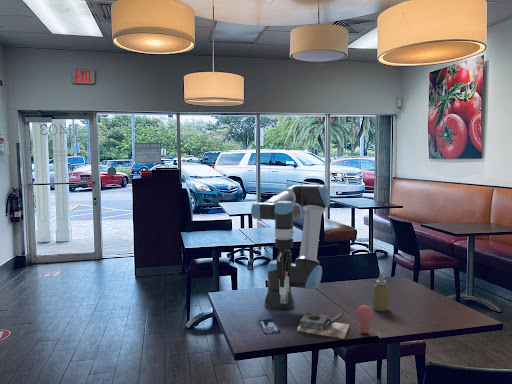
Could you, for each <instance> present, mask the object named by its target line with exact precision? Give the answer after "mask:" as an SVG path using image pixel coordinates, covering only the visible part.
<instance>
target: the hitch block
mask: <svg viewBox="0 0 512 384" xmlns="http://www.w3.org/2000/svg"><path fill="white" fill-rule="evenodd" d="M331 319H332V318H331V317H329V315H327V314H326V315H325V314H321V313H319V314H318V313H312V312H306V313H305V314H304V315H303V316H302V318H301V319H300V321H299V325H298V326H297V328H296V330H297V331H296V332H299V331H300V332H301V333H305V332H306V333H305V334H311V333H312V334H311V335H313V334H314V335H320V336H324V335H325V336H326V337H330V336H331V338H336V337H337V338H336V339H342V340H343V339H345V338H346V335H347V333H348V331H350V330H349V329H350V324H348V323H341V322H337V321H336V322H334V323H333V324H331V325H330V326H329V327H328V324H327V322H328V321H329V320H331Z"/></svg>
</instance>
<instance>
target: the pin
mask: <svg viewBox="0 0 512 384" xmlns="http://www.w3.org/2000/svg"><path fill="white" fill-rule="evenodd" d="M285 279H286V295H282V294H280V303H281V304H287V303H288V271H285Z"/></svg>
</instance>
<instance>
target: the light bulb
mask: <svg viewBox="0 0 512 384" xmlns="http://www.w3.org/2000/svg"><path fill="white" fill-rule="evenodd" d="M355 311H356V312H355V314H356V318H357V320H358V322H359V332H360V333H362V334H368V333H369V330H370V329H369V327H370V326H371V322H372V321H373V318H374V315H375V313H374V310H373V309H372V308H371V306H369V305H367V304H361V305H360V306H358V308H357V309H356V310H355Z"/></svg>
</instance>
